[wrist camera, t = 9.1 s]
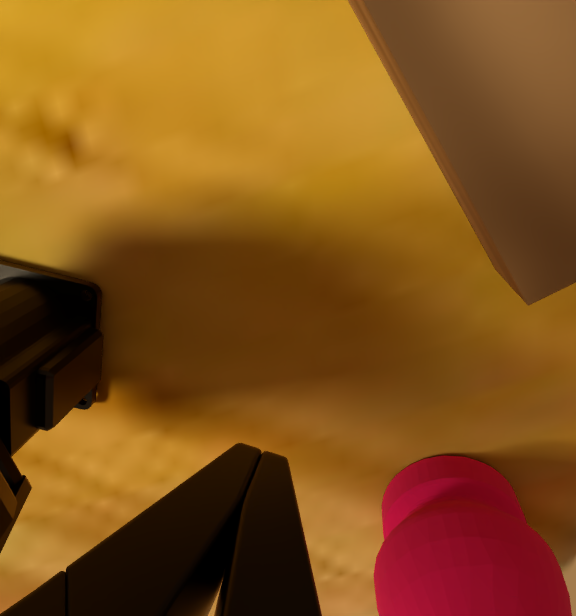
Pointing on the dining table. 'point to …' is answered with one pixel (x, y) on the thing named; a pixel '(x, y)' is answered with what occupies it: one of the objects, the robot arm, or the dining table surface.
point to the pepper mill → (462, 547)
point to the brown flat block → (494, 120)
